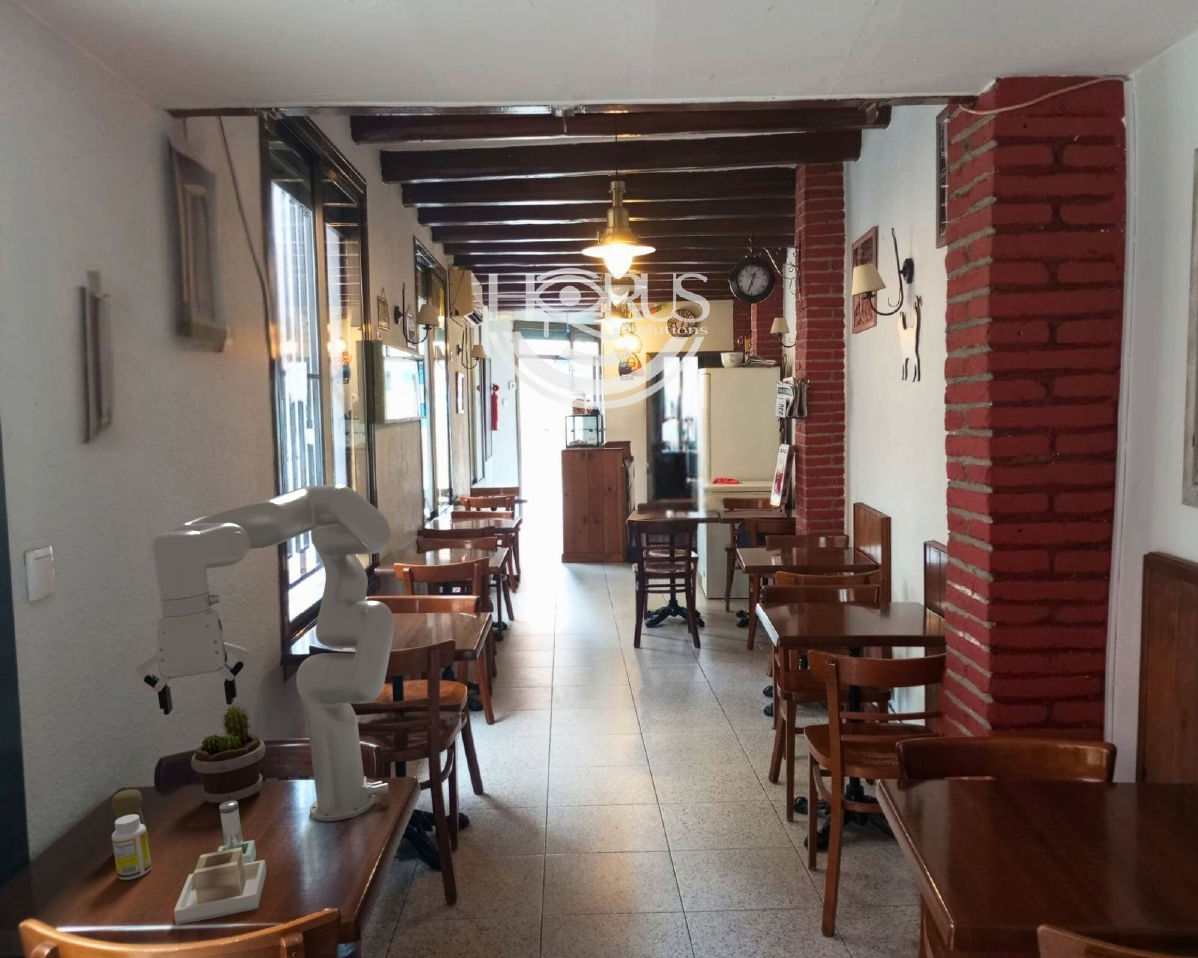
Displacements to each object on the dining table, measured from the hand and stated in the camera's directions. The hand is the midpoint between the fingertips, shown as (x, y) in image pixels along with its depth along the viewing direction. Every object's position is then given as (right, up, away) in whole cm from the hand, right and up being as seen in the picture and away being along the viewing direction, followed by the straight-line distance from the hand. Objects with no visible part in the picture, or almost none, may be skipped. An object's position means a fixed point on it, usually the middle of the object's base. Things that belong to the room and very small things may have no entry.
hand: (199, 707), depth 154 cm
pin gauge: (+1, -31, +12) cm, 33 cm away
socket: (+1, -31, +12) cm, 34 cm away
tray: (+3, -32, +1) cm, 32 cm away
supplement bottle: (-17, -33, +13) cm, 40 cm away
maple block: (+3, -32, +1) cm, 32 cm away
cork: (-23, -33, +24) cm, 47 cm away
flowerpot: (-12, -30, +44) cm, 55 cm away
